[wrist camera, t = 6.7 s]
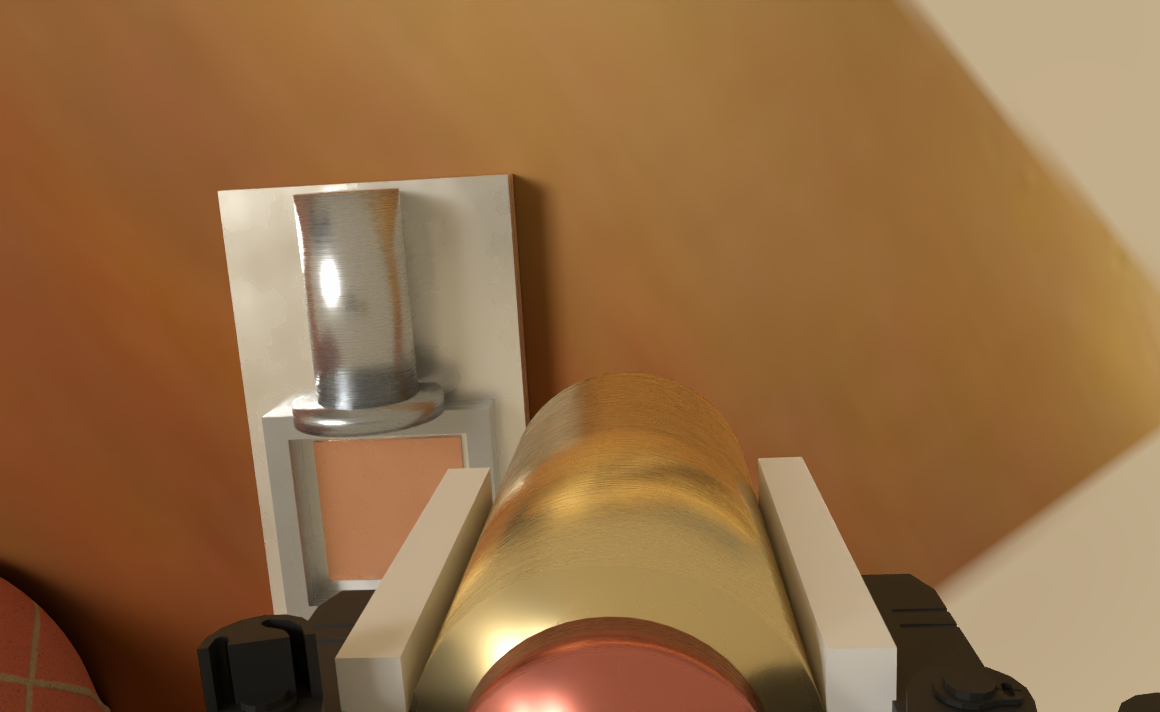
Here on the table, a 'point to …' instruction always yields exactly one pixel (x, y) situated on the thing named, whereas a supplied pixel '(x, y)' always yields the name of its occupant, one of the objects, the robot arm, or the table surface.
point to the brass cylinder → (622, 570)
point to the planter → (39, 661)
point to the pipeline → (371, 362)
